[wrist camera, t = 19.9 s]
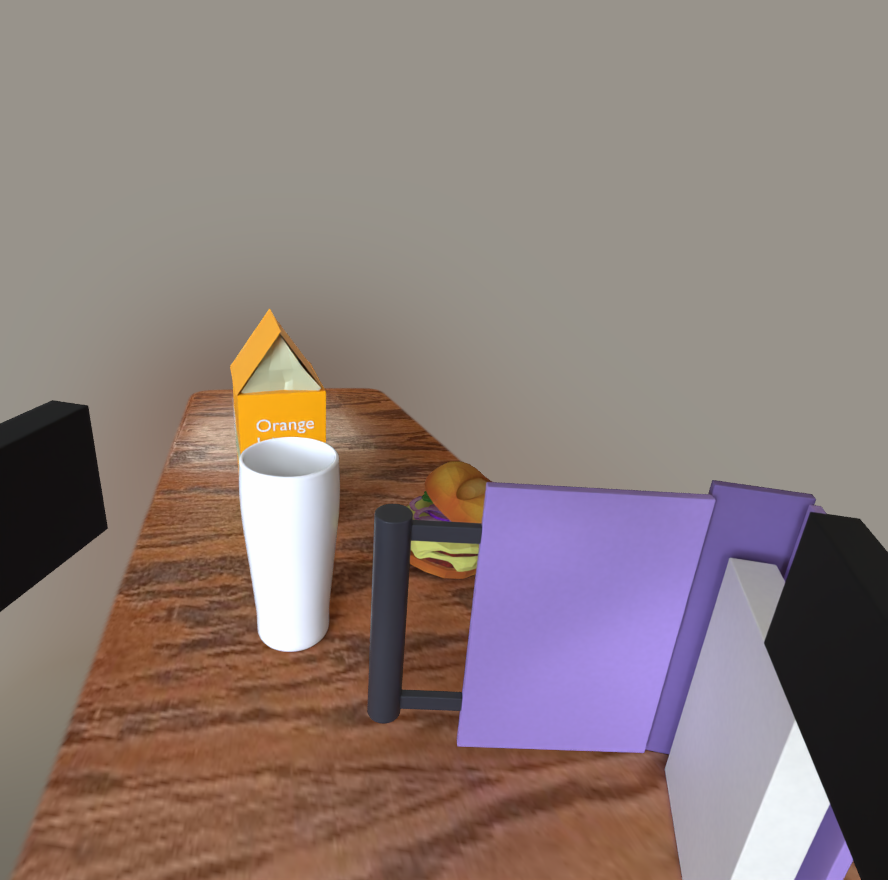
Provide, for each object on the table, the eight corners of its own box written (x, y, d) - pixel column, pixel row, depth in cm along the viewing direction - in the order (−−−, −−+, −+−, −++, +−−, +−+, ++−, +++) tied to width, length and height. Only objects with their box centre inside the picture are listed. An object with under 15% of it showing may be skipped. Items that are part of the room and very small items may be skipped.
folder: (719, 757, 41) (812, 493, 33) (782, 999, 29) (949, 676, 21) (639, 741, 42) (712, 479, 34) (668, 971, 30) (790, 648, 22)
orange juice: (312, 489, 70) (310, 307, 62) (327, 531, 62) (327, 331, 54) (237, 496, 67) (225, 308, 59) (244, 542, 59) (230, 332, 51)
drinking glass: (240, 663, 46) (227, 477, 40) (256, 603, 52) (247, 434, 46) (336, 662, 46) (337, 480, 40) (340, 603, 52) (342, 436, 46)
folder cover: (647, 762, 40) (721, 506, 32) (364, 753, 39) (374, 487, 32) (638, 736, 42) (706, 488, 34) (367, 726, 41) (377, 469, 33)
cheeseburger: (390, 520, 65) (420, 434, 61) (489, 548, 66) (523, 465, 62) (382, 579, 55) (417, 481, 52) (498, 610, 57) (539, 517, 53)
